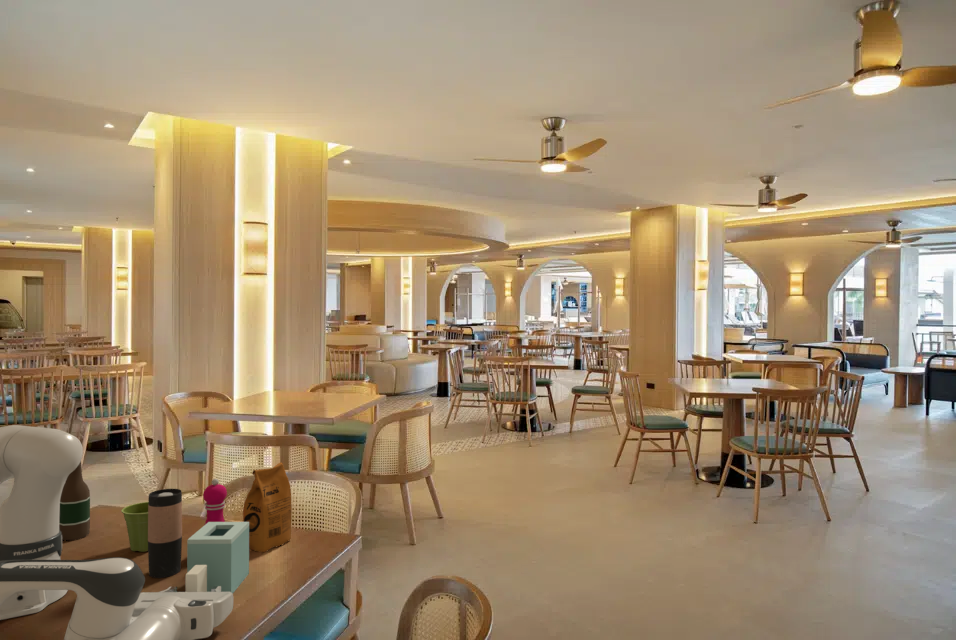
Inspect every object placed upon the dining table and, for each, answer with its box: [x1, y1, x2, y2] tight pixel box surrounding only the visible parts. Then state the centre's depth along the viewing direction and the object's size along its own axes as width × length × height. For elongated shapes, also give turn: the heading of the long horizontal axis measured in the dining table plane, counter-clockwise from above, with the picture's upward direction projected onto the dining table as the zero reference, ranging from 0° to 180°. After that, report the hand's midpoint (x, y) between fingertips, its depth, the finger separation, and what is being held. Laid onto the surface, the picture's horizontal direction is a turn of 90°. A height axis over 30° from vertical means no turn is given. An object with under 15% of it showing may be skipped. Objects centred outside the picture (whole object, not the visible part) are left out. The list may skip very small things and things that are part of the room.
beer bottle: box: [59, 461, 91, 541], centre depth 177 cm, size 8×8×24 cm
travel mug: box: [147, 488, 183, 579], centre depth 153 cm, size 8×8×20 cm
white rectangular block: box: [185, 565, 207, 592], centre depth 133 cm, size 5×2×9 cm, turn 2°
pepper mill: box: [202, 478, 228, 525], centre depth 166 cm, size 7×7×20 cm
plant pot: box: [121, 501, 148, 553], centre depth 169 cm, size 12×12×11 cm
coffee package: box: [242, 462, 293, 553], centre depth 172 cm, size 10×12×22 cm
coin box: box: [186, 521, 250, 595], centre depth 146 cm, size 12×10×13 cm
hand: (195, 589), depth 133 cm, fingers open, 8 cm apart
